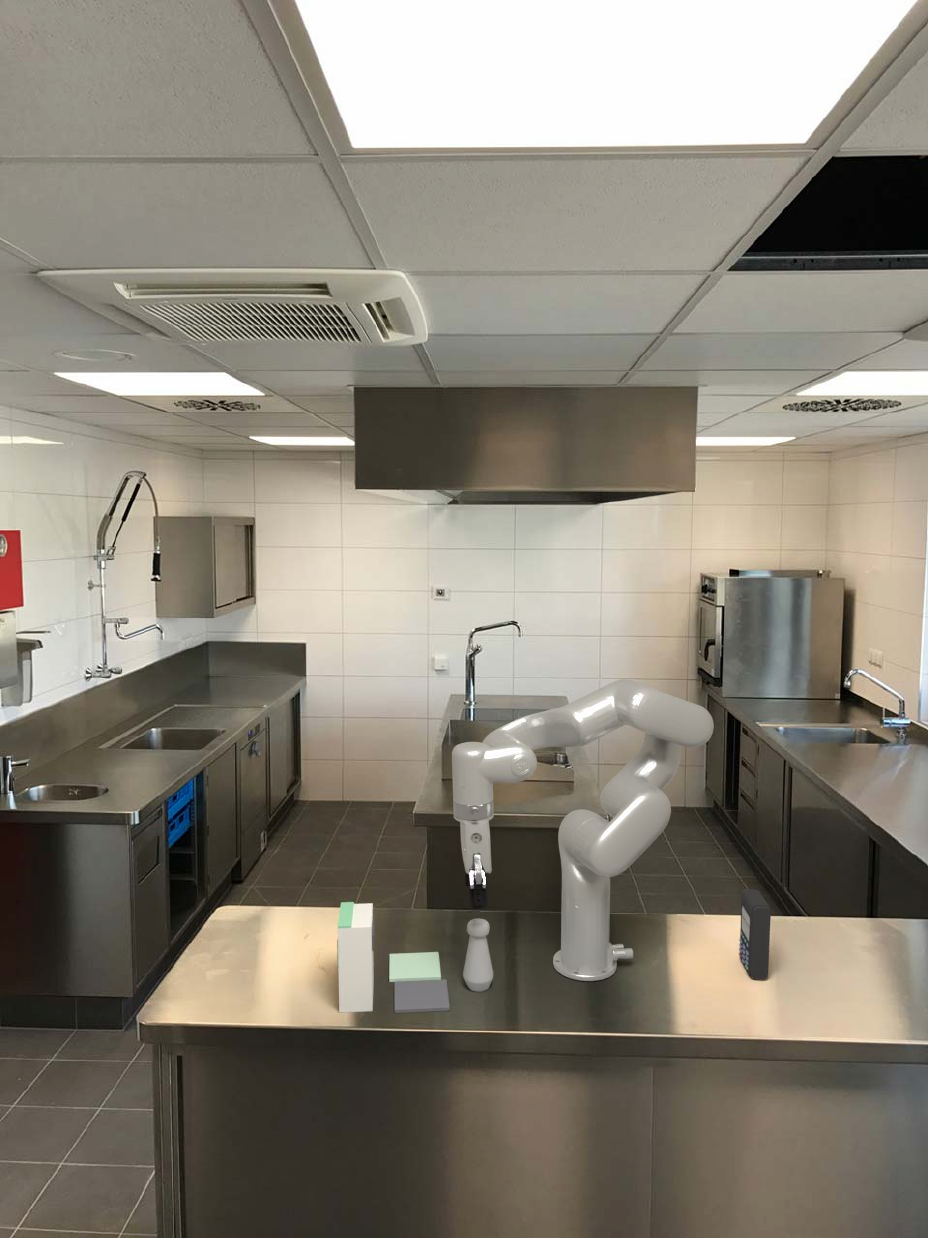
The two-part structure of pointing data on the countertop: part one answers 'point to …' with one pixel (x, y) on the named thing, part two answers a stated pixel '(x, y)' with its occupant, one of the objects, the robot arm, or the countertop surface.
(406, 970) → the green pad
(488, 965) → the salt shaker
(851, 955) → the countertop surface
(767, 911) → the card reader
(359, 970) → the block
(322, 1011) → the countertop surface
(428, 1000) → the grey pad
